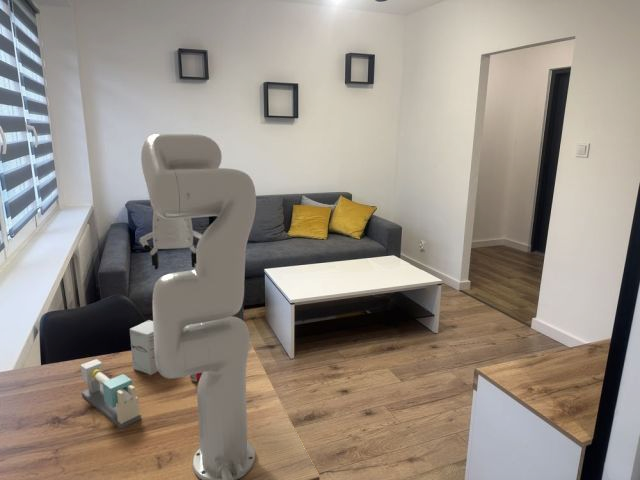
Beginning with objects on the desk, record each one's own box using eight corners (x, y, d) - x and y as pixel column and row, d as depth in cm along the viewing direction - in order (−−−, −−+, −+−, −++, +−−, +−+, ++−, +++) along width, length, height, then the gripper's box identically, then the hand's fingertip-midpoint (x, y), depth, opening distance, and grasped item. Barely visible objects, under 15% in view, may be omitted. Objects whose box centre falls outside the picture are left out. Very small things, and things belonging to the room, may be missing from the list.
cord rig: (141, 418, 104) (138, 386, 102) (120, 428, 101) (117, 395, 99) (101, 387, 117) (98, 358, 115) (82, 395, 113) (78, 365, 111)
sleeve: (133, 398, 105) (131, 379, 104) (112, 408, 102) (110, 388, 100) (125, 392, 108) (123, 373, 107) (104, 401, 104) (102, 382, 103)
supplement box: (132, 369, 126) (128, 328, 123) (152, 358, 132) (149, 319, 129) (150, 376, 123) (147, 334, 120) (170, 364, 129) (167, 324, 126)
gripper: (134, 208, 112) (139, 272, 116) (204, 207, 116) (207, 269, 120) (139, 203, 119) (143, 264, 123) (205, 202, 123) (207, 261, 127)
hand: (175, 267), depth 121 cm, fingers open, 9 cm apart
